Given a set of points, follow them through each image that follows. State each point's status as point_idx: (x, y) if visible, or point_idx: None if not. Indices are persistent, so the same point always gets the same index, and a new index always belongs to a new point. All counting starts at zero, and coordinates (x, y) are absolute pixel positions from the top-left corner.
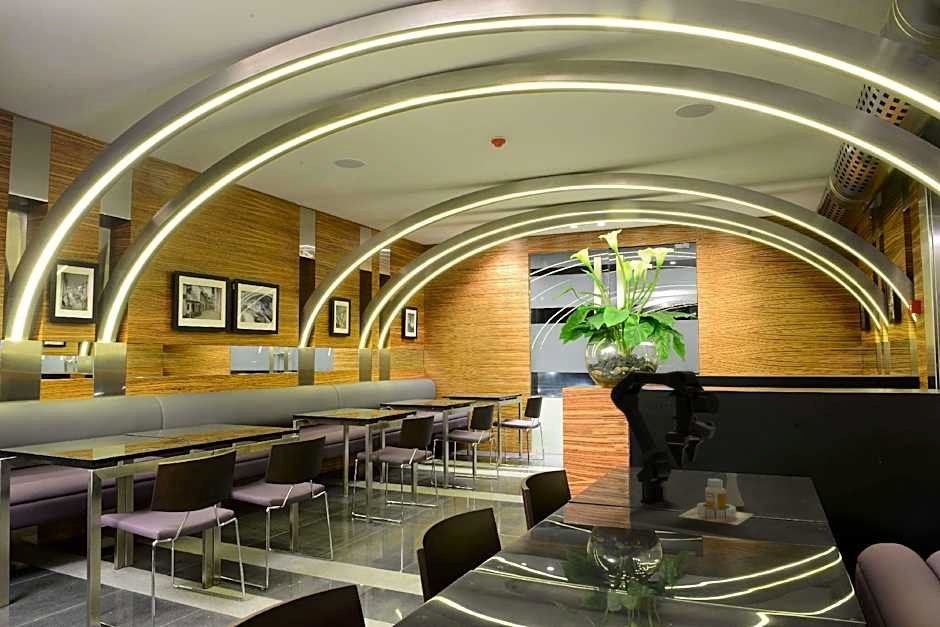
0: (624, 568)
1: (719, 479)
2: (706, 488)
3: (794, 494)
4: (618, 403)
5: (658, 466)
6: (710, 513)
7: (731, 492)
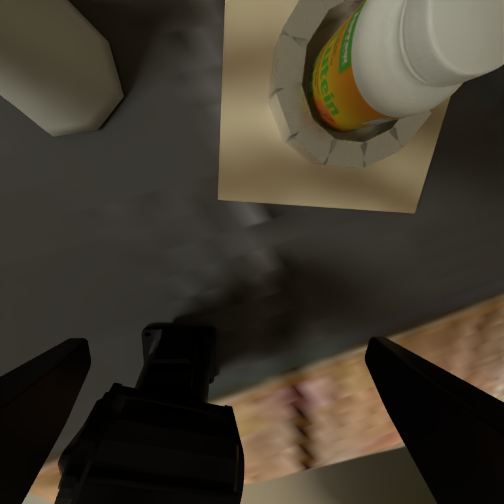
0: None
1: None
2: (443, 98)
3: None
4: None
5: (223, 471)
6: None
7: (37, 30)
